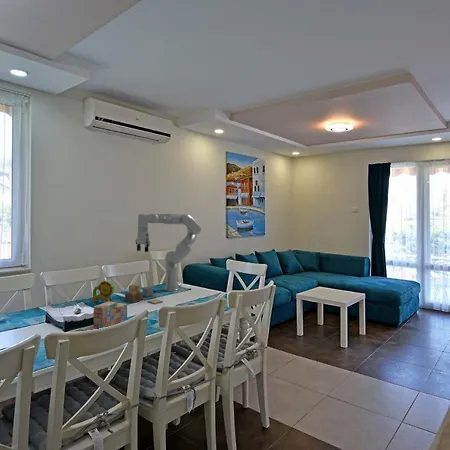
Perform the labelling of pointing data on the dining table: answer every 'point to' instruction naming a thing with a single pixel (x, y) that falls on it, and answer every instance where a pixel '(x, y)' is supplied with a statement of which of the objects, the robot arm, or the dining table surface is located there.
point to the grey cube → (147, 291)
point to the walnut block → (133, 297)
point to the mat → (155, 301)
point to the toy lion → (103, 292)
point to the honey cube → (134, 289)
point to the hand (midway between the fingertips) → (142, 251)
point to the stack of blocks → (109, 314)
